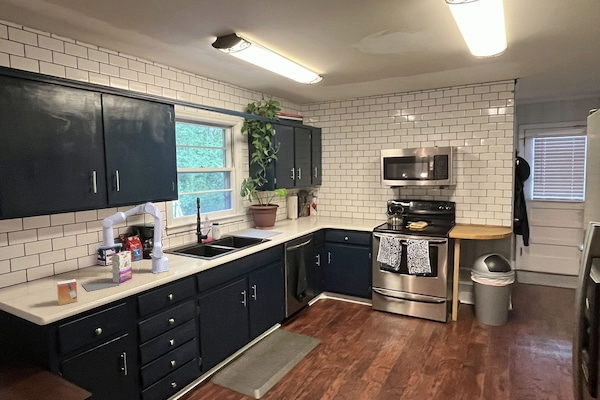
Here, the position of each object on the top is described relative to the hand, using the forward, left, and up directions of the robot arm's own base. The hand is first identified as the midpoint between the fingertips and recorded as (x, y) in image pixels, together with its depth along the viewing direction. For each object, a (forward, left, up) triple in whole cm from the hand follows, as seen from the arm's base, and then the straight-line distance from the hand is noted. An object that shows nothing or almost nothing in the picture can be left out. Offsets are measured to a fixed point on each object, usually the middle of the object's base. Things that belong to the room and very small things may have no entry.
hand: (109, 259), depth 227 cm
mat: (+8, +14, -11) cm, 19 cm away
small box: (+27, +33, -11) cm, 44 cm away
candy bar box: (-3, +14, -10) cm, 18 cm away
